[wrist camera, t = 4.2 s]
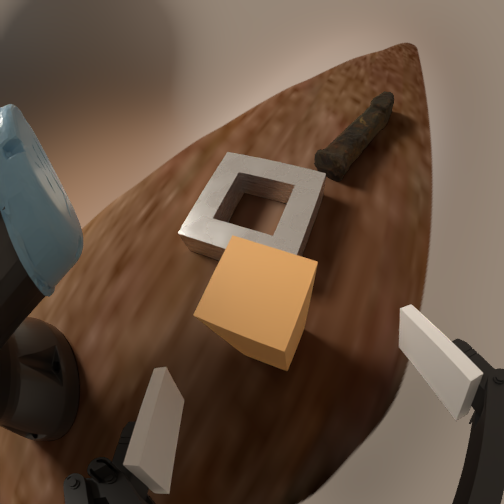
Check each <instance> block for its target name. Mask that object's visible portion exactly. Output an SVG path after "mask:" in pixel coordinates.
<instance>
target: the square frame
mask: <svg viewBox="0 0 504 504" xmlns="http://www.w3.org/2000/svg"><path fill="white" fill-rule="evenodd" d="M325 179H326V173H322V172H318V171H314V170H310V169H306V168H302V167H298V166H294V165H289V164H285V163H281V162H276V161H271V160H267V159H262V158H257V157H252V156H247V155H241V154H236V153H230V152H227V154H226V155H225V157H224V159H223V160H222V162H221V163H220V165H219V166H218V168H217V169H216V171H215V173H214V174H213V176H212V177H211V179H210V180H209V182H208V184H207V185H206V187H205V189H204V190H203V192H202V193H201V195H200V197H199V198H198V200H197V202H196V203H195V205H194V207H193V208H192V210H191V212H190V213H189V215H188V217H187V218H186V220H185V222H184V224H183V225H182V227H181V229H180V231H179V232H178V234H179V236H180V237H181V239H182V240H183V242H184V243H185V245H186V246H187V248H188V249H189V250H190V251H193V252H195V253H198V254H201V255H204V256H207V257H210V258H213V259H216V260H218V261H220V259H221V257H222V255H223V253H224V251H225V249H226V247H227V245H228V243H229V241H230V239H231V237H232V235H233V236H237V237H240V238H243V239H246V240H250V241H253V242H256V243H259V244H263V245H266V246H269V247H272V248H276V249H279V250H282V251H285V252H288V253H292V254H295V255H298V256H301V257H302V255H303V252H304V250H305V247H306V244H307V241H308V239H309V236H310V233H311V230H312V227H313V225H314V222H315V219H316V216H317V213H318V210H319V207H320V204H321V201H322V198H323V195H324V188H325ZM244 193H246V194H250V195H254V196H258V197H262V198H266V199H270V200H274V201H278V202H281V203H285V204H287V205H286V207H285V210H284V212H283V214H282V217H281V219H280V221H279V224H278V226H277V228H276V231H275V233H274V235H273V236H271V235H268V234H265V233H261V232H258V231H255V230H251V229H248V228H244V227H241V226H237V225H234V224H231V223H228V222H229V220H230V218H231V216H232V214H233V213H234V211H235V209H236V207H237V205H238V203H239V201H240V199H241V197H242V196H243V194H244Z"/></svg>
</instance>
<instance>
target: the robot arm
mask: <svg viewBox="0 0 504 504" xmlns="http://www.w3.org/2000/svg"><path fill="white" fill-rule="evenodd" d="M82 249H83V233H82V229H81V226H80V223H79V220H78V218H77V215H76V213H75V211H74V209H73V207H72V205H71V203H70V200H69V198H68V196H67V194H66V192H65V190H64V188H63V186H62V185H61V182H60V180H59V178H58V176H57V175H56V173H55V171H54V169H53V167H52V165H51V163H50V161H49V159H48V157H47V156H46V154H45V152H44V150H43V148H42V146H41V145H40V143H39V141H38V139H37V137H36V135H35V134H34V132H33V130H32V129H31V127H30V125H29V124H28V123H27V122H26V120H25V118H24V117H23V115H22V112H21V111H20V110H19V109H18V108H17V107H16V106H15V105H13V104H8V105H6V106H4V107H0V426H1V427H3V428H5V429H7V430H10V431H12V432H14V433H16V434H18V435H21V436H23V437H26V438H28V439H31V440H35V441H52V440H56V439H59V438H61V437H62V436H63V435H65V434H66V433H67V431H68V430H69V429H70V427H71V426H72V424H73V422H74V419H75V416H76V413H77V409H78V403H79V377H78V370H77V365H76V361H75V358H74V355H73V352H72V350H71V347H70V345H69V343H68V342H67V340H66V338H65V337H64V336H63V334H62V333H61V332H60V331H59V330H58V329H57V328H56V327H54V326H53V325H51V324H49V323H46V322H44V321H42V320H39V319H36V318H31V317H27V316H28V315H29V314H30V313H31V312H32V310H33V309H34V308H35V307H36V306H37V305H38V304H39V303H40V301H41V300H42V299H43V298H44V297H45V296H51V295H52V294H53V292H54V290H55V286H56V285H57V283H58V282H59V281H60V280H61V279H62V278H63V277H64V276H65V274H66V273H67V272H68V271H69V270H70V269H71V268H72V267H73V266H74V265H75V263H76V262H77V261H78V259H79V257H80V255H81V253H82ZM399 348H400V349H401V350H402V351H403V353H404V354H405V355H406V356H407V358H408V359H409V360H410V361H411V363H412V364H413V365H414V367H415V368H416V369H417V370H418V372H419V373H420V374H421V375H422V377H423V378H424V379H425V381H426V382H427V383H428V385H429V386H430V387H431V388H432V390H433V391H434V392H435V394H436V395H437V396H438V398H439V399H440V400H441V402H442V403H443V404H444V406H445V407H446V409H447V410H448V411H449V413H450V414H451V415H452V417H453V418H454V419H455V421H457V420H459V419H460V418H462V417H463V416H465V415H467V414H468V412H469V410H470V408H471V406H472V407H473V408H474V410H475V411H474V413H473V415H472V418H471V420H470V422H469V424H471V423H472V427H471V433H470V438H469V444H468V449H467V454H466V458H465V463H464V467H463V471H462V474H461V478H460V481H459V485H458V488H457V491H456V495H455V498H454V500H453V503H452V504H500V503H501V500H502V495H503V491H504V369H494V368H493V367H492V366H491V365H490V364H489V363H488V362H487V361H485V360H484V358H483V357H481V356H480V355H479V354H477V352H476V351H475V350H474V349H472V347H471V346H470V345H469V344H467V343H466V342H465V341H462V340H460V339H456V340H454V341H450V340H449V339H448V338H447V337H446V336H445V335H444V334H443V333H442V332H441V331H440V330H439V329H438V328H437V327H436V326H434V325H433V324H432V323H431V322H430V321H429V320H428V319H427V318H426V317H425V316H424V315H422V314H421V313H420V312H419V311H418V310H417V309H416V308H415V307H414V306H412V305H408V306H405V307H403V308H400V331H399ZM183 406H184V399H183V397H182V395H181V393H180V391H179V390H178V388H177V386H176V384H175V382H174V380H173V378H172V376H171V375H170V373H169V371H168V369H167V367H161V368H154V371H153V373H152V376H151V379H150V382H149V385H148V388H147V391H146V394H145V396H144V399H143V402H142V405H141V408H140V411H139V415H138V418H137V421H136V422H128V423H127V425H126V426H125V427H124V428H123V431H122V434H121V436H120V437H121V438H120V439H119V442H118V443H119V445H117V448H116V451H115V454H114V457H113V460H112V462H111V461H110V460H109V459H108V458H105V457H99V458H96V459H94V460H93V461H91V462H90V464H89V465H88V469H87V472H88V475H89V476H91V477H92V478H87V479H85V478H84V477H83V476H82V475H80V474H78V473H74V474H71V475H69V476H68V477H67V478H66V479H65V481H64V497H65V504H155V502H154V501H153V500H152V498H151V497H150V496H149V495H148V494H147V493H148V488H149V489H150V490H151V491H152V492H154V493H159V494H169V492H170V485H171V479H172V472H173V465H174V459H175V453H176V447H177V441H178V435H179V429H180V423H181V417H182V412H183Z"/></svg>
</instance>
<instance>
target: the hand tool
mask: <svg viewBox="0 0 504 504" xmlns="http://www.w3.org/2000/svg"><path fill="white" fill-rule="evenodd" d="M393 104H394V95H393V94H392V93H391V92H383V93H382V94H380V95H379V96H377V97H375V98H374V99H373V100H372V101H371V105H370V107H369V108H367V109H366V111H365V112H364V113H363V114H362V115H360V116H359V117H358V118H357V119H356V120H355V121H354V122H353V123H351V124H350V125H349V126H348V127H347V128H346V129H345V130H344V131H343V132H342V133H341V134H340V135H339V136H338V137H337V138H336V139H335V140H334V141H333V142H332V143H331V144H330V145H329V146H328V147H327V148H325V149H323V150H318V151H317V153H316V154H315V163H314V164H315V166H316V168H317V169H318V171H319V172H322V173H326V177H328V178H330V179H332V180H335V181H341V180H342V179H343V175H345V174H346V172H347V171H348V170H349V168H350V165H351V164H352V163H353V162H354V160H356V159H357V158H358V156H360V154H361V153H362V151H363V149H365V148H366V146H367V145H368V144H369V143H370V142H371V140H372V139H373V138H374V137H375V136H376V135H377V133H378V132H379V131H380V130H383V129H384V127H385V126H386V124H387V122H388V120H389V116H390V114H391V113H392V107H393Z"/></svg>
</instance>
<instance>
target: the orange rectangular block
mask: <svg viewBox="0 0 504 504" xmlns="http://www.w3.org/2000/svg"><path fill="white" fill-rule="evenodd" d="M317 264H318V262H317V261H314V260H311V259H308V258H304V257H301V256H298V255H295V254H292V253H288V252H285V251H282V250H279V249H276V248H272V247H269V246H266V245H263V244H259V243H256V242H253V241H250V240H246V239H243V238H240V237H237V236H233V235H232V237H231V239H230V241H229V243H228V245H227V247H226V249H225V251H224V253H223V255H222V257H221V259H220V261H219V263H218V265H217V267H216V269H215V271H214V274H213V276H212V278H211V280H210V282H209V284H208V286H207V288H206V290H205V292H204V294H203V296H202V298H201V300H200V302H199V304H198V307H197V309H196V311H195V313H194V316H195V317H196V318H197V319H199V320H200V321H201V322H202V323H203V324H205V325H206V326H207V327H209V328H210V329H211V330H212V331H214V332H215V333H216V334H217V335H219V336H220V337H221V338H223V339H224V340H225V341H226V342H228V343H229V344H230V345H232V346H233V347H234V348H236V349H237V350H238V351H240V352H241V353H242V354H244V355H246V356H248V357H251V358H253V359H256V360H258V361H261V362H264V363H266V364H269V365H271V366H274V367H277V368H280V369H282V370H285V371H288V369H289V366H290V364H291V361H292V359H293V356H294V354H295V351H296V349H297V346H298V344H299V341H300V339H301V336H302V333H303V331H304V327H305V323H306V318H307V314H308V309H309V304H310V300H311V295H312V290H313V285H314V280H315V275H316V269H317Z"/></svg>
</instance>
